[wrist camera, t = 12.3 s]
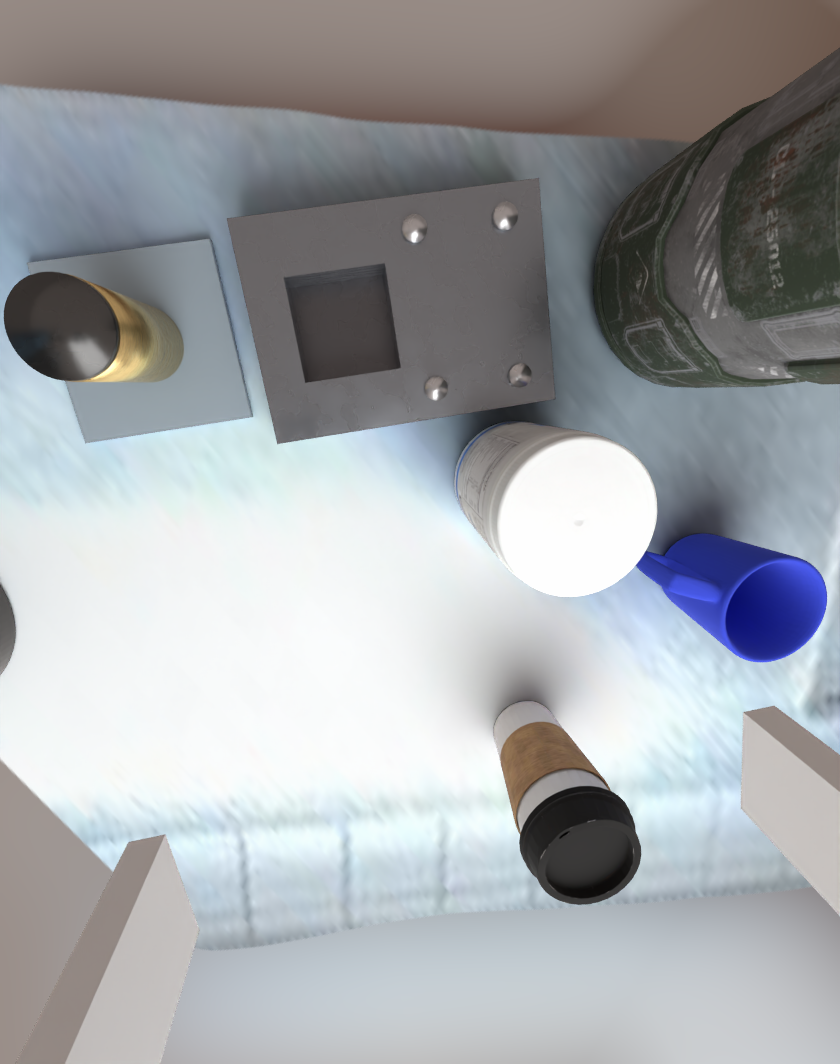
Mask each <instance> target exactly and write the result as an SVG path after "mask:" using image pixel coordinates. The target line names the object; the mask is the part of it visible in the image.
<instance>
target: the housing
mask: <svg viewBox="0 0 840 1064" xmlns="http://www.w3.org/2000/svg"><path fill="white" fill-rule="evenodd" d="M227 221H228V226H229V230H230V235H231V239H232V244H233V248H234V253H235V257H236V262H237V266H238V270H239V275H240V279H241V284H242V288H243V293H244V297H245V302H246V306H247V311H248V315H249V319H250V324H251V328H252V333H253V337H254V342H255V346H256V351H257V355H258V360H259V364H260V368H261V373H262V377H263V382H264V386H265V391H266V395H267V400H268V404H269V409H270V413H271V417H272V422H273V426H274V431H275V435H276V440H277V444H280V443H286V442H292V441H298V440H304V439H311V438H317V437H323V436H329V435H335V434H342V433H348V432H354V431H360V430H366V429H373V428H379V427H385V426H391V425H397V424H404V423H410V422H416V421H422V420H428V419H435V418H441V417H447V416H453V415H459V414H466V413H472V412H478V411H484V410H490V409H497V408H503V407H509V406H515V405H521V404H528V403H534V402H540V401H546V400H552V399H555V388H554V375H553V361H552V348H551V335H550V322H549V308H548V295H547V282H546V269H545V255H544V242H543V229H542V215H541V202H540V189H539V178H536V179H528V180H520V181H512V182H505V183H497V184H489V185H482V186H474V187H466V188H459V189H451V190H443V191H435V192H428V193H420V194H412V195H405V196H397V197H389V198H381V199H374V200H366V201H358V202H351V203H343V204H335V205H328V206H320V207H312V208H304V209H297V210H289V211H281V212H274V213H266V214H258V215H251V216H243V217H235V218H227Z"/></svg>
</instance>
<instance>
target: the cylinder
mask: <svg viewBox="0 0 840 1064" xmlns="http://www.w3.org/2000/svg"><path fill="white" fill-rule="evenodd" d="M4 324H5V329H6V333H7V335H8V338H9V340H10V342H11V344H12V346H13V348H14V349H15V351H16V352H17V354H18V355H19V356H20V357H21V358H22V359H23V360H24V361H25V362H26V363H27V364H28V365H29V366H31V367H32V368H33V369H35V370H36V371H38V372H40V373H41V374H44V375H46V376H48V377H51V378H54V379H58V380H64V381H71V382H147V383H150V382H159V381H162V380H165V379H167V378H169V377H170V376H171V375H173V374H174V373H175V372H176V370H177V369H178V368H179V366H180V364H181V362H182V359H183V354H184V344H183V339H182V335H181V333H180V330H179V329H178V327H177V325H176V324H175V323H174V321H173V320H172V319H171V318H170V317H169V316H168V315H167V314H166V313H164V312H163V311H161V310H159V309H157V308H155V307H153V306H150V305H148V304H145V303H143V302H140V301H137V300H135V299H132V298H130V297H127V296H125V295H122V294H120V293H117V292H114V291H112V290H109V289H107V288H104V287H102V286H99V285H96V284H94V283H91V282H89V281H86V280H84V279H81V278H78V277H76V276H73V275H69V274H64V273H60V272H52V271H51V272H39V273H35V274H32V275H29V276H27V277H25V278H24V279H22V280H21V281H19V282H18V283H17V284H16V285H15V286H14V288H13V289H12V290H11V292H10V294H9V295H8V297H7V300H6V303H5V308H4Z"/></svg>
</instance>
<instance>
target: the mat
mask: <svg viewBox="0 0 840 1064" xmlns="http://www.w3.org/2000/svg"><path fill="white" fill-rule="evenodd" d="M27 266H28V269H29V272H30V275H32V274H35V273H39V272H51V271H52V272H60V273H64V274H69V275H73V276H76V277H78V278H81V279H84V280H86V281H89V282H91V283H94V284H96V285H99V286H102V287H104V288H107V289H109V290H112V291H114V292H117V293H120V294H122V295H125V296H127V297H130V298H132V299H135V300H137V301H140V302H143V303H145V304H148V305H150V306H153V307H155V308H157V309H159V310H161V311H163V312H164V313H166V314H167V315H168V316H169V317H170V318H171V319H172V320H173V321H174V323H175V324H176V325H177V327H178V329H179V330H180V333H181V335H182V339H183V344H184V354H183V359H182V362H181V364H180V366H179V368H178V369H177V370H176V372H175V373H174V374H173V375H171V376H170V377H169V378H167V379H165V380H162V381H159V382H150V383H147V382H71V381H65V382H66V385H67V388H68V391H69V394H70V397H71V400H72V403H73V407H74V410H75V413H76V416H77V419H78V422H79V425H80V428H81V431H82V434H83V437H84V440H85V443H90V442H96V441H102V440H109V439H115V438H122V437H128V436H134V435H141V434H147V433H153V432H160V431H166V430H172V429H179V428H185V427H192V426H198V425H204V424H211V423H217V422H223V421H230V420H236V419H242V418H249V417H253V415H252V411H251V406H250V402H249V398H248V394H247V389H246V385H245V381H244V376H243V372H242V368H241V364H240V359H239V355H238V351H237V347H236V342H235V338H234V334H233V330H232V325H231V321H230V317H229V312H228V308H227V304H226V300H225V295H224V291H223V287H222V283H221V278H220V274H219V270H218V265H217V261H216V257H215V253H214V248H213V244H212V241H211V240H210V239H203V240H195V241H188V242H180V243H173V244H165V245H158V246H150V247H143V248H135V249H127V250H120V251H112V252H105V253H97V254H90V255H82V256H74V257H67V258H59V259H52V260H44V261H37V262H29V263H27Z"/></svg>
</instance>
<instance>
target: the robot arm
mask: <svg viewBox="0 0 840 1064" xmlns="http://www.w3.org/2000/svg"><path fill="white" fill-rule="evenodd" d="M14 643H15V622H14V616H13V612H12V609H11V606H10V603H9V601H8V599H7V596H6V595H5V593H4V591H3V589H2V588H1V586H0V675H1V674H2V672H3V671H4V669H5V668H6V666H7V664H8V662H9V660H10V658H11V655H12V652H13V649H14ZM741 809H742V810H743V811H744V812H745V813H746V815H747V816H748V817H749V818H750V819H751V820H752V821H753V822H754V823H755V824H756V825H757V826H758V828H759V829H760V830H761V831H762V832H763V833H764V834H765V835H766V836H767V837H768V838H769V839H770V841H771V842H772V843H773V844H774V845H775V846H776V847H777V848H778V849H779V850H780V851H781V853H782V854H783V855H784V856H785V857H786V858H787V859H788V860H789V861H790V862H791V863H792V864H793V866H794V867H795V868H796V869H797V870H798V871H799V872H800V873H801V874H802V875H803V876H804V877H805V879H806V880H807V881H808V882H809V883H810V884H811V885H812V886H813V887H814V888H815V889H816V890H817V892H818V893H819V894H820V895H821V896H822V897H823V898H824V899H825V900H826V901H827V902H828V904H830V905H831V907H832V908H833V909H834V910H835V911H836V912H837V913H838V914H839V915H840V755H839V754H838V753H837V752H835V751H834V750H833V749H831V748H830V747H829V746H827V745H826V744H825V743H823V742H822V741H821V740H819V739H818V738H817V737H815V736H814V735H813V734H811V733H810V732H809V731H807V730H806V729H805V728H803V727H802V726H801V725H799V724H798V723H797V722H795V721H794V720H793V719H791V718H790V717H789V716H787V715H786V714H785V713H783V712H782V711H781V710H779V709H778V708H777V707H775V706H771V707H766V708H761V709H757V710H752V711H747V712H743V744H742V782H741ZM199 931H200V930H199V927H198V924H197V922H196V919H195V916H194V913H193V910H192V908H191V905H190V902H189V899H188V896H187V894H186V891H185V888H184V885H183V882H182V880H181V877H180V874H179V871H178V868H177V866H176V863H175V860H174V857H173V855H172V852H171V849H170V846H169V843H168V841H167V838H166V835H160V836H156V837H151V838H146V839H141V840H137V841H132V842H128V844H127V846H126V848H125V850H124V852H123V854H122V856H121V858H120V860H119V862H118V864H117V866H116V868H115V870H114V872H113V874H112V876H111V878H110V880H109V882H108V883H107V885H106V887H105V889H104V891H103V893H102V895H101V897H100V899H99V901H98V903H97V905H96V907H95V909H94V911H93V913H92V915H91V917H90V919H89V921H88V923H87V924H86V926H85V928H84V930H83V932H82V934H81V936H80V938H79V940H78V942H77V944H76V946H75V948H74V950H73V952H72V954H71V956H70V958H69V960H68V962H67V964H66V965H65V967H64V969H63V971H62V974H61V975H60V977H59V979H58V981H57V983H56V985H55V987H54V989H53V991H52V993H51V995H50V997H49V999H48V1001H47V1003H46V1004H45V1007H44V1008H43V1010H42V1012H41V1014H40V1016H39V1018H38V1020H37V1022H36V1024H35V1026H34V1028H33V1030H32V1032H31V1034H30V1036H29V1038H28V1040H27V1042H26V1044H25V1046H24V1047H23V1049H22V1051H21V1053H20V1055H19V1057H18V1059H17V1061H16V1063H15V1064H160V1062H161V1059H162V1055H163V1052H164V1049H165V1045H166V1042H167V1039H168V1035H169V1032H170V1029H171V1025H172V1022H173V1018H174V1015H175V1012H176V1008H177V1005H178V1002H179V998H180V995H181V991H182V988H183V984H184V981H185V978H186V975H187V971H188V968H189V964H190V961H191V958H192V954H193V951H194V948H195V944H196V941H197V937H198V934H199Z"/></svg>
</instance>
